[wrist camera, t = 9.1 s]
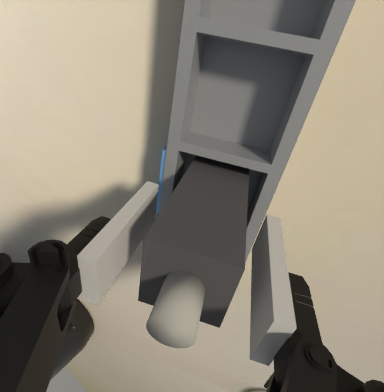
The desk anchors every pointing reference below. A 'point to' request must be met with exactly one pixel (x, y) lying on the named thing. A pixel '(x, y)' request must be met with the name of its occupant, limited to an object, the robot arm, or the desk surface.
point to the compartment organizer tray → (247, 88)
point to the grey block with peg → (195, 252)
